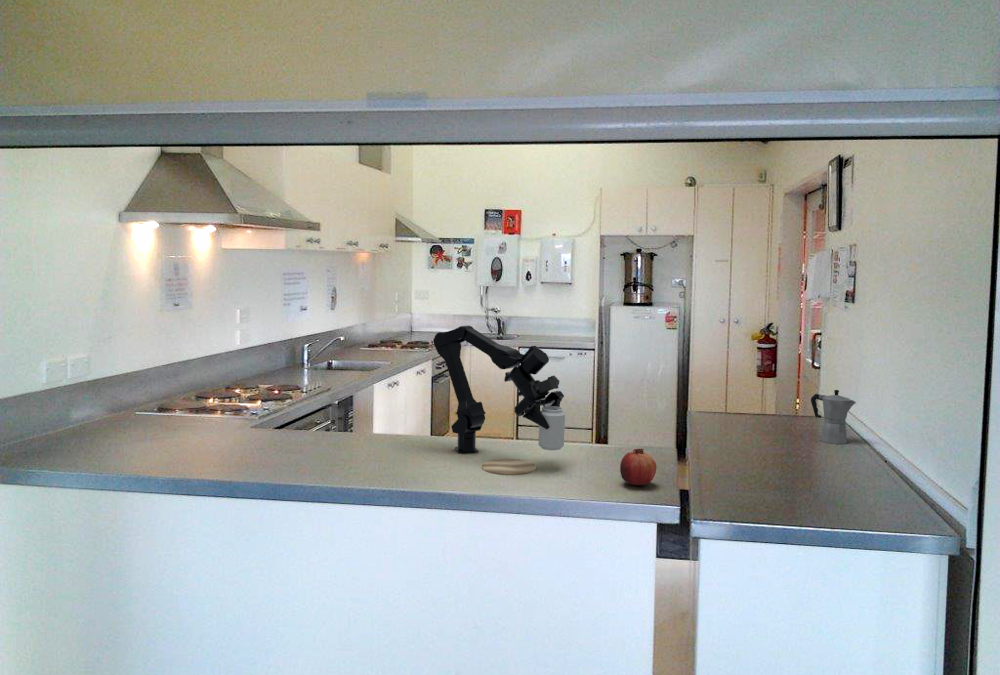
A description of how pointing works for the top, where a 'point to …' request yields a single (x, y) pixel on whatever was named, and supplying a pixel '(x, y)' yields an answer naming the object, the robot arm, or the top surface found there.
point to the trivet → (509, 466)
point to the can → (552, 428)
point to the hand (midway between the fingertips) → (555, 426)
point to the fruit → (637, 468)
